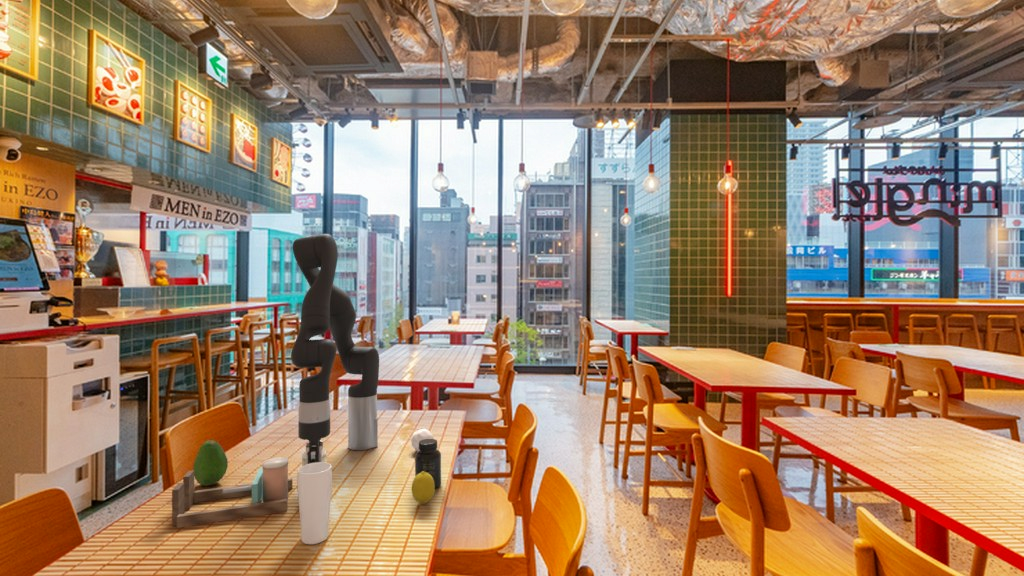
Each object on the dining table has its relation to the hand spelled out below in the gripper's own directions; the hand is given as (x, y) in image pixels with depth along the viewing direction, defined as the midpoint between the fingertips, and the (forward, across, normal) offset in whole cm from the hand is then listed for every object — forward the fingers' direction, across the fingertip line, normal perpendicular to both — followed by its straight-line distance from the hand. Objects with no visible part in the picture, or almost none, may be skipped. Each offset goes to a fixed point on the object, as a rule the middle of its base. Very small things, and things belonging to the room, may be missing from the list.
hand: (314, 483), depth 120 cm
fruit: (+3, +17, +27) cm, 32 cm away
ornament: (+3, +23, -31) cm, 39 cm away
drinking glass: (+3, -23, -1) cm, 23 cm away
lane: (+3, 0, +17) cm, 17 cm away
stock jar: (+3, 0, +9) cm, 9 cm away
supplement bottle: (+3, -5, -28) cm, 29 cm away
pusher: (+3, 0, +17) cm, 17 cm away
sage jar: (+2, 0, 0) cm, 2 cm away
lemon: (+3, -15, -25) cm, 29 cm away
